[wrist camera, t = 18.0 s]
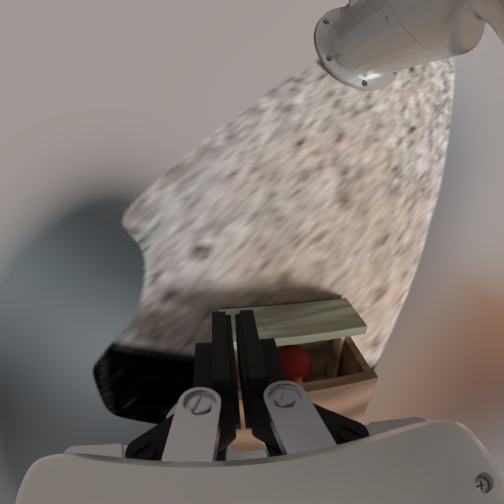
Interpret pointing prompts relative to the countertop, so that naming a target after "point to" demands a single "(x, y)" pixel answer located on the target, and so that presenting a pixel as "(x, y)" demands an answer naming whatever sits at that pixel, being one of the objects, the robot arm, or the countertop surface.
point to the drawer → (307, 331)
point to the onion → (295, 363)
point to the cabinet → (327, 394)
